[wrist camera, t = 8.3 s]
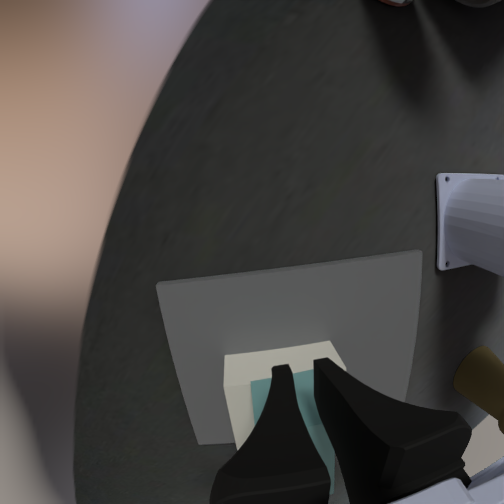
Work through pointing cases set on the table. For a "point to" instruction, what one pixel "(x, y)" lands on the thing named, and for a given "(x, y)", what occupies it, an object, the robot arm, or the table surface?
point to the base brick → (259, 367)
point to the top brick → (307, 409)
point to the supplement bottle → (397, 2)
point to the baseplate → (292, 325)
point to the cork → (483, 382)
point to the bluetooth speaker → (478, 3)
